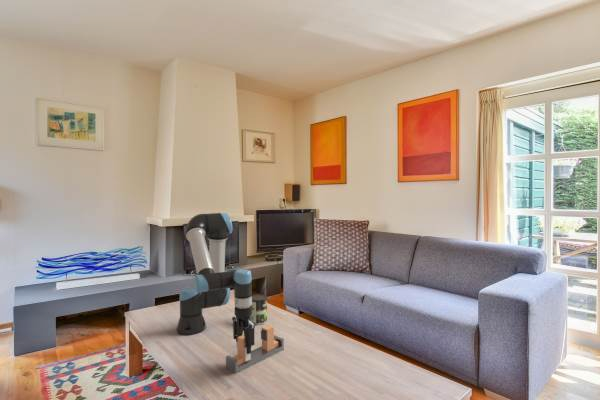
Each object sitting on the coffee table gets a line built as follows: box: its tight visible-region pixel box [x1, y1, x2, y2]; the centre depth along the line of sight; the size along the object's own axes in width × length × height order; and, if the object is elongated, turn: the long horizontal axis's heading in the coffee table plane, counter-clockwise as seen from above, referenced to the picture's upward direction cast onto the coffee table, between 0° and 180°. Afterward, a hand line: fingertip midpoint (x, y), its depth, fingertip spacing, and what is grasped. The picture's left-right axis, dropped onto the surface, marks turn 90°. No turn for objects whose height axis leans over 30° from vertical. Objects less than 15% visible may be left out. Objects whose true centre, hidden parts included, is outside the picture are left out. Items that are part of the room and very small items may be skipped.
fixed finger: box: [260, 324, 279, 351], centre depth 157 cm, size 4×8×10 cm, turn 137°
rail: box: [225, 334, 285, 374], centre depth 151 cm, size 7×28×5 cm, turn 137°
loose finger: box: [231, 334, 246, 365], centre depth 145 cm, size 4×8×10 cm, turn 137°
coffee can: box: [250, 294, 268, 326], centre depth 194 cm, size 10×10×14 cm
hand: (243, 358), depth 146 cm, fingers open, 4 cm apart
